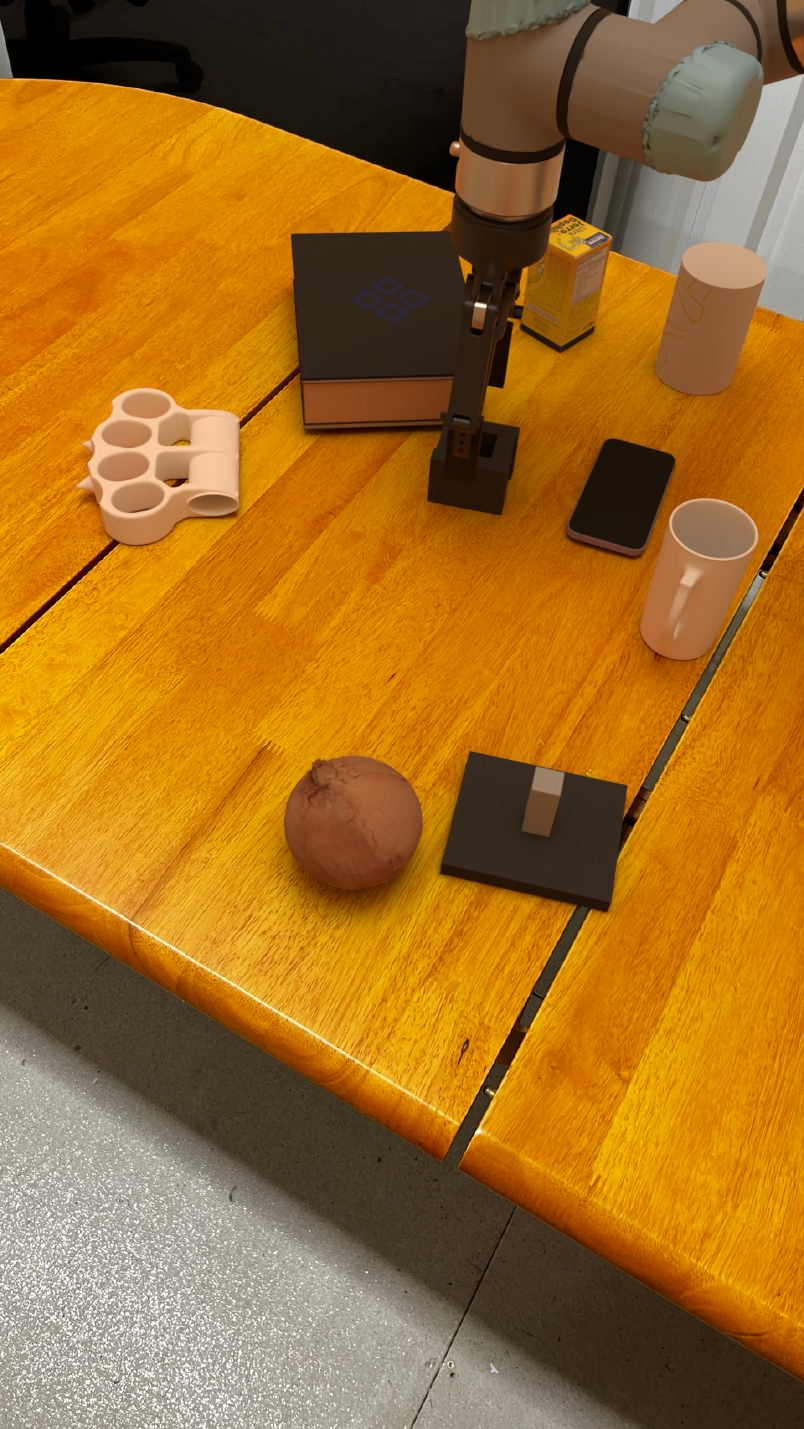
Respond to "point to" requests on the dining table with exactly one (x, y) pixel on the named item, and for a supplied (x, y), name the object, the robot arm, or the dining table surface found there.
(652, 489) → the smartphone
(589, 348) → the dining table surface
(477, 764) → the base pad
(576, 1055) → the dining table surface
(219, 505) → the knuckle duster
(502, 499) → the black hollow block
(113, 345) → the dining table surface
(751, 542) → the mug
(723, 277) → the beige cylinder
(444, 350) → the book
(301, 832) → the onion
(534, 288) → the supplement box
